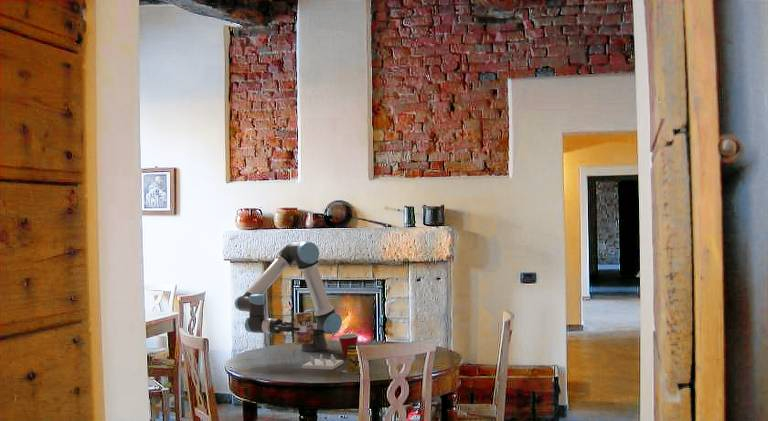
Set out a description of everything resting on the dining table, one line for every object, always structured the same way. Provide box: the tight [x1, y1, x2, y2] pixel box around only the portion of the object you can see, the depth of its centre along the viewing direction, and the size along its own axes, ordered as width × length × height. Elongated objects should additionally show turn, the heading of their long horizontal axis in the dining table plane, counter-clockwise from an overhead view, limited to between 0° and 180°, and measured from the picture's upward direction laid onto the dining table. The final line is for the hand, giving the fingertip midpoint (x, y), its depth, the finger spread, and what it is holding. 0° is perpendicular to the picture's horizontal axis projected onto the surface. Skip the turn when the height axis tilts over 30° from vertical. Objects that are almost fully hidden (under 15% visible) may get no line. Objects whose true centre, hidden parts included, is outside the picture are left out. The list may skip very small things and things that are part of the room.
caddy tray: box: [301, 353, 344, 370], centre depth 322 cm, size 16×16×4 cm
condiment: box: [341, 345, 361, 374], centre depth 307 cm, size 7×8×12 cm
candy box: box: [293, 312, 313, 346], centre depth 318 cm, size 9×4×15 cm, turn 116°
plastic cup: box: [337, 333, 359, 359], centre depth 342 cm, size 11×11×12 cm
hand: (311, 327), depth 316 cm, fingers closed on candy box, 9 cm apart
